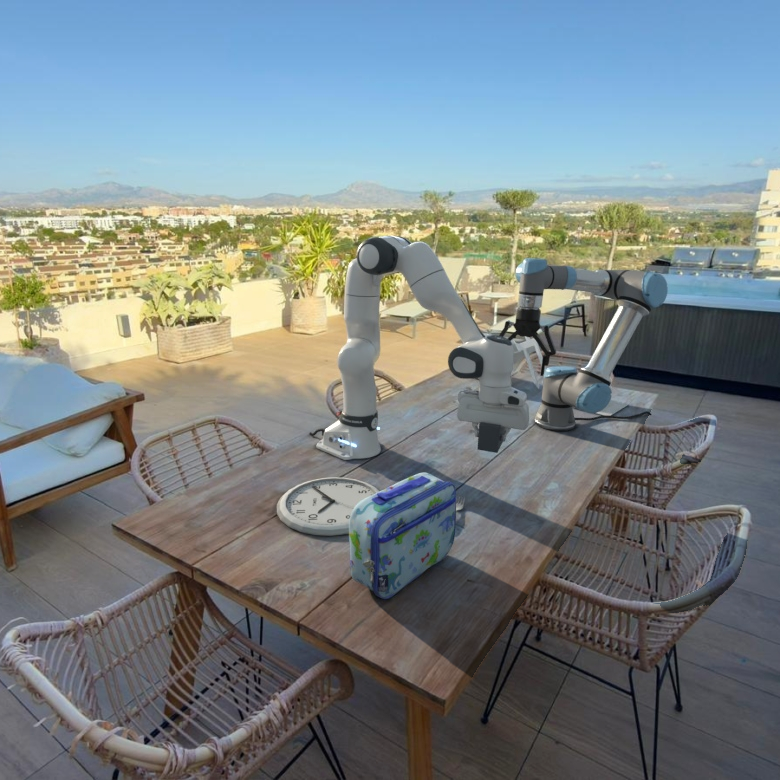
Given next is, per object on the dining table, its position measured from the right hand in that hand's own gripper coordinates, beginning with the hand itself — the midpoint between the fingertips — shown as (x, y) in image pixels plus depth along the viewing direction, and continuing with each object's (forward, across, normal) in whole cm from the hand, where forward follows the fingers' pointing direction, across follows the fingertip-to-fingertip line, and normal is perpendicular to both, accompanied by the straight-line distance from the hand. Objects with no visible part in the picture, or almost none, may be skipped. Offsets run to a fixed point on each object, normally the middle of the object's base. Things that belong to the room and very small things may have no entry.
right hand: (521, 372), depth 174 cm
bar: (+16, -2, -20) cm, 26 cm away
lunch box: (+30, -9, -78) cm, 84 cm away
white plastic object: (+26, -19, +79) cm, 85 cm away
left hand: (+14, -2, -30) cm, 33 cm away
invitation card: (+25, +27, +62) cm, 72 cm away
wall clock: (+30, -37, -60) cm, 77 cm away
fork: (+29, -5, -51) cm, 59 cm away
